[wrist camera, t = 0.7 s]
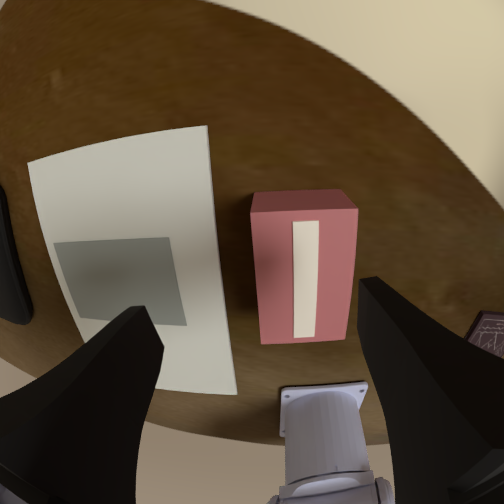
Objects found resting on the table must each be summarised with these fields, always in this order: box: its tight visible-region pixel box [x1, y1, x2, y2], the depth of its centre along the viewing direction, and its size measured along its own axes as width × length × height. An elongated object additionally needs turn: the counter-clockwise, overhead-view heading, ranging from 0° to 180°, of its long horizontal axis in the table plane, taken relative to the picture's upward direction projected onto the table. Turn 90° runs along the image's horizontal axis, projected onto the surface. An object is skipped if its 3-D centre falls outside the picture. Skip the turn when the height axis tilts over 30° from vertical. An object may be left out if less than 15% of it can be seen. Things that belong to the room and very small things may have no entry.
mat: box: [28, 126, 237, 395], centre depth 20 cm, size 22×14×1 cm, turn 3°
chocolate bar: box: [464, 310, 504, 358], centre depth 23 cm, size 9×1×18 cm
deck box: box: [250, 189, 358, 344], centre depth 16 cm, size 8×5×4 cm, turn 4°
